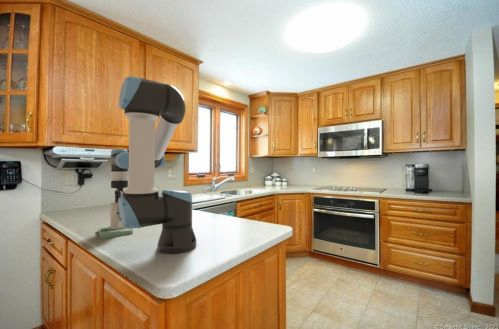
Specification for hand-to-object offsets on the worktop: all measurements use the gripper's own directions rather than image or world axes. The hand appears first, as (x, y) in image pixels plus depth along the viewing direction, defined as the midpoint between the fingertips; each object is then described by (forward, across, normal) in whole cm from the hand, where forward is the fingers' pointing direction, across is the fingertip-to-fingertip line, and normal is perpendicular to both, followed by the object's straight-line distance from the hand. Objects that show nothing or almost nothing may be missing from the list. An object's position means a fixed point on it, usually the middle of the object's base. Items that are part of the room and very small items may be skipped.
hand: (119, 224), depth 114 cm
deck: (+3, 0, +2) cm, 4 cm away
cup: (+1, 0, 0) cm, 1 cm away
